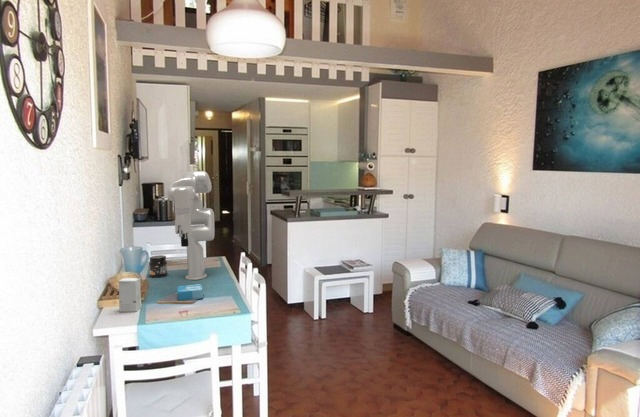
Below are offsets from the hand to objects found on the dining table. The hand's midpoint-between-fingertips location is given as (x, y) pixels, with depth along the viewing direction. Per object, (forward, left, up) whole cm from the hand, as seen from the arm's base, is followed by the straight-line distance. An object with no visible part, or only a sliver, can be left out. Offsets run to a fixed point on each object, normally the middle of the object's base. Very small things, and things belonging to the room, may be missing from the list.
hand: (184, 246), depth 235 cm
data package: (+2, +2, -22) cm, 23 cm away
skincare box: (+28, -16, -26) cm, 41 cm away
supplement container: (-37, -35, -26) cm, 57 cm away
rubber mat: (+10, +1, -25) cm, 27 cm away
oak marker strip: (+17, +1, -25) cm, 31 cm away
